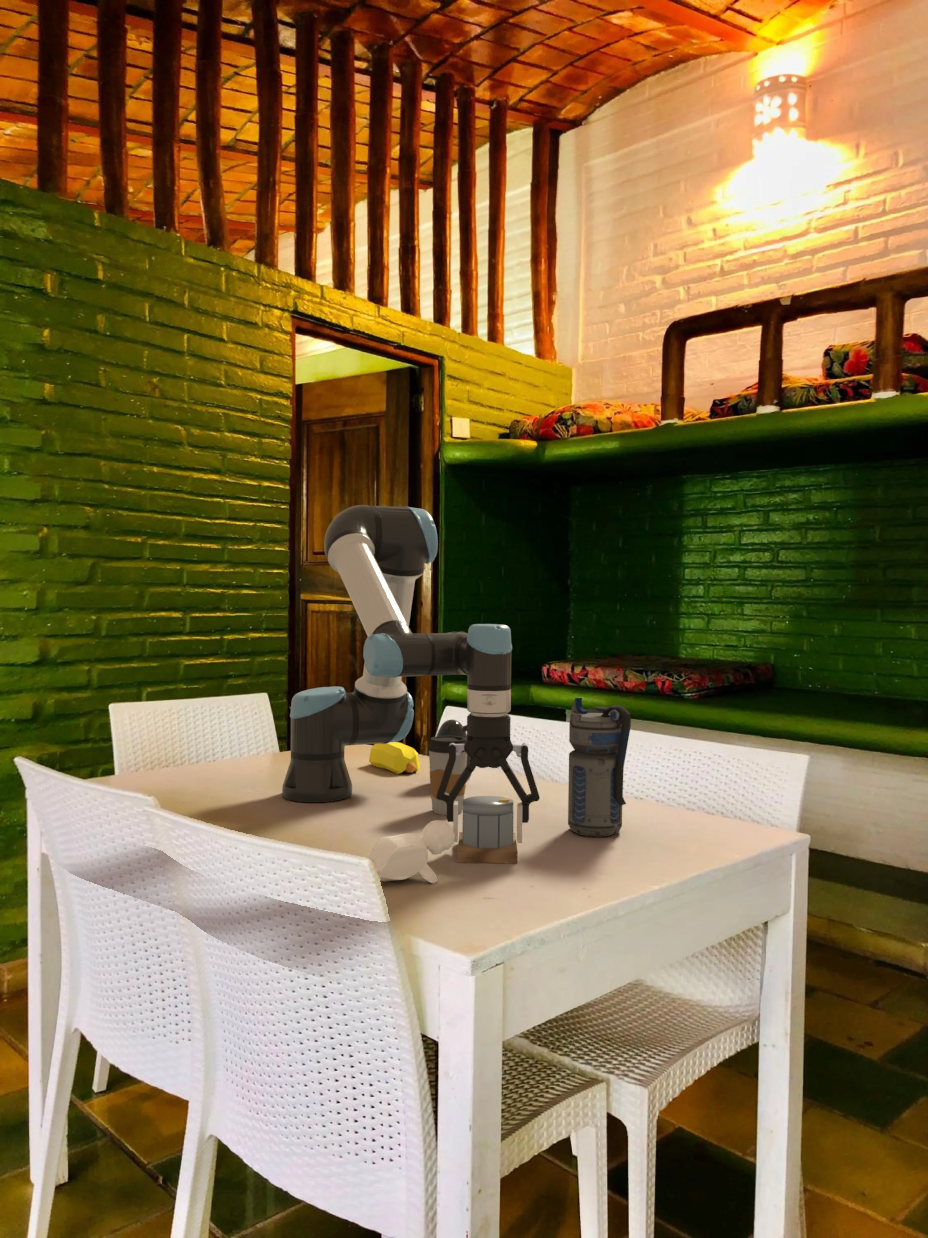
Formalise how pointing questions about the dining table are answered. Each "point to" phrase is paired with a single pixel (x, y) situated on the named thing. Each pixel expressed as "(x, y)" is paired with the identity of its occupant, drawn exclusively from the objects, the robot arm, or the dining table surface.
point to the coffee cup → (437, 766)
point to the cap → (487, 822)
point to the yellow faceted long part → (394, 757)
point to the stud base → (487, 853)
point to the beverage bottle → (597, 768)
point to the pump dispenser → (453, 732)
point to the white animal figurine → (411, 852)
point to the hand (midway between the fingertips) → (487, 840)
